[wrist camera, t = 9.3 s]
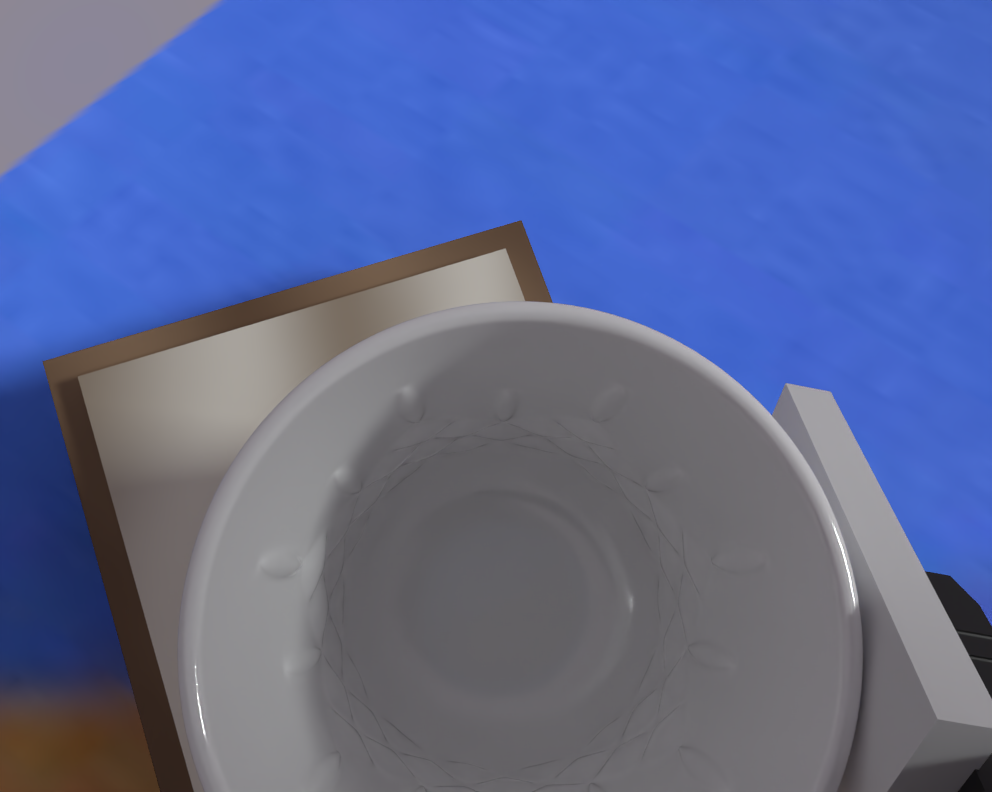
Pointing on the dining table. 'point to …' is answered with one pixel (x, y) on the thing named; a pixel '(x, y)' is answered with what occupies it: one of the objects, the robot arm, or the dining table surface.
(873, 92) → the dining table surface
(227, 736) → the white cup
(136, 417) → the base
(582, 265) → the dining table surface
